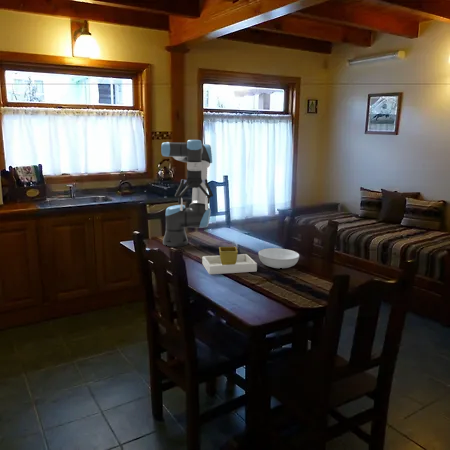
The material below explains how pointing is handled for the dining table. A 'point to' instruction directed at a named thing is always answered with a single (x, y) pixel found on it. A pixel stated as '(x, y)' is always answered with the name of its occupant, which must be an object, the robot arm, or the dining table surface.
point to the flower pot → (228, 255)
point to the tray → (242, 265)
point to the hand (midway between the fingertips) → (194, 210)
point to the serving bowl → (278, 257)
